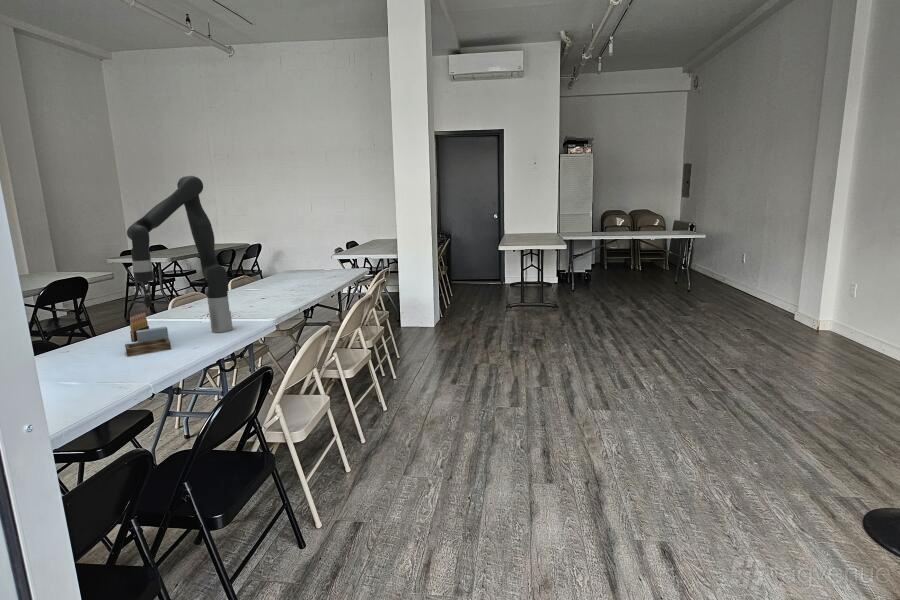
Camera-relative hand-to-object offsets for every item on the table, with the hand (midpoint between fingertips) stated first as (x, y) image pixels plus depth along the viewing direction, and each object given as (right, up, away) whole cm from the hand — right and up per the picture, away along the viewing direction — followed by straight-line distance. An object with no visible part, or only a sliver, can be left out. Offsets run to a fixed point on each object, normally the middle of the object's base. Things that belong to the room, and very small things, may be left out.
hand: (148, 306), depth 229 cm
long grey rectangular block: (+1, -18, +4) cm, 18 cm away
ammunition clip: (-11, -16, +13) cm, 24 cm away
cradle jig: (+4, -19, -7) cm, 21 cm away
